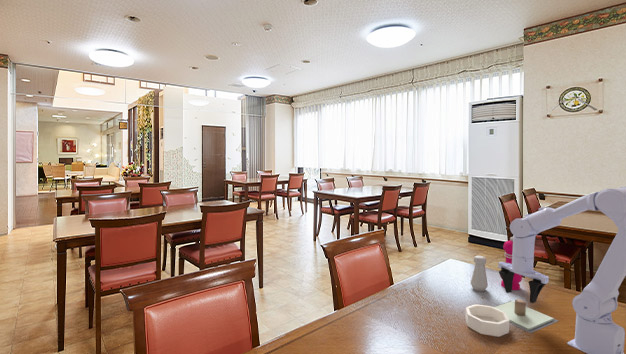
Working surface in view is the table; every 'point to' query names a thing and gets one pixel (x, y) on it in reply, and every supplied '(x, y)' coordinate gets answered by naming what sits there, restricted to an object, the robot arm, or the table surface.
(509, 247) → the pepper mill
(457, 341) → the table surface
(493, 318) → the bowl
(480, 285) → the salt shaker
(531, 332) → the mat
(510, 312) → the cover
